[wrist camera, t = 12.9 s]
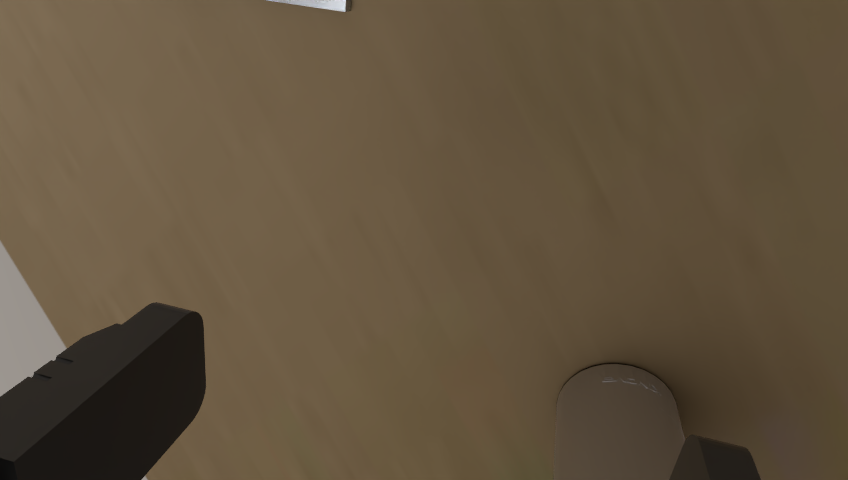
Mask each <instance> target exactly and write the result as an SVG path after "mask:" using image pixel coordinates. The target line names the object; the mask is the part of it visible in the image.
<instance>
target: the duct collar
mask: <svg viewBox="0 0 848 480" xmlns="http://www.w3.org/2000/svg"><path fill="white" fill-rule="evenodd" d="M268 1H275V2H282V3H288V4H295V5H302V6H309V7H316V8H323V9H330V10H336V11H343V12H347V11H350V10H351V0H268Z"/></svg>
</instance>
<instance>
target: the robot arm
mask: <svg viewBox="0 0 848 480" xmlns="http://www.w3.org/2000/svg"><path fill="white" fill-rule="evenodd" d="M205 388H206V376H205V352H204V328H203V320H202V317H201V315H200V314H199V313H197V312H194V311H190V310H186V309H182V308H178V307H174V306H170V305H166V304H162V303H157V302H156V303H152V304H149V305H148V306H146V307H145V308H144V309H142V310H141V311H140V312H138V313H137V314H136V315H134V316H133V317H132V318H130V319H129V320H128V321H126V322H125V323H124V324H122V325H120V324H114V325H112V326H110V327H107V328H105V329H102V330H100V331H97V332H95V333H92V334H90V335H87V336H85V337H83V338H81V339H80V340H79V341H77V342H76V343H74V344H73V345H72V346H70V347H69V348H67V349H66V350H65V351H63V352H62V353H61V354H59V355H58V356H57V357H56V360H55V361H52V360H51V361H50V362H48V363H47V364H45V365H44V366H42V367H41V368H40V369H38V370H37V371H36V372H34V375H33V377H32V378H31V377H27V378H26V379H24V380H23V381H22V382H21V383H19V384H17V385H16V386H15V387H13V388H12V389H11V390H9V391H8V392H6V393H5V394H4V395H2V396H1V397H0V480H141V479H142V478H143V477H144V476H145V475H146V474H147V473H148V471H149V470H150V469H151V468H152V467H153V466H154V464H155V463H156V462H157V461H158V460H159V459H160V458H161V456H162V455H163V454H164V453H165V452H166V451H167V450H168V448H169V447H170V446H171V445H172V444H173V443H174V441H175V440H176V439H177V438H178V437H179V436H180V435H181V433H182V432H183V431H184V430H185V429H186V428H187V427H188V425H189V424H190V423H191V422H192V421H193V419H194V418H195V416H196V415H197V413H198V411H199V409H200V407H201V404H202V402H203V398H204V394H205ZM553 480H761V479H760V476H759V474H758V471H757V468H756V466H755V463H754V461H753V458H752V456H751V454H750V452H749V451H748V449H746V448H745V447H741V446H737V445H733V444H729V443H725V442H721V441H717V440H713V439H709V438H704V437H700V436H696V435H690V436H689V437H688V438H687V439H686V441H685V438H684V434H683V430H682V426H681V421H680V417H679V413H678V409H677V405H676V401H675V399H674V397H673V395H672V393H671V391H670V390H669V389H668V387H667V386H666V385H665V384H664V383H663V382H662V381H661V380H659V379H658V378H657V377H656V376H654V375H652V374H650V373H649V372H647V371H645V370H642V369H639V368H636V367H633V366H629V365H621V364H604V365H599V366H594V367H590V368H588V369H586V370H583V371H581V372H579V373H578V374H576V375H575V376H573V377H572V378H571V379H570V380H569V381H568V382H567V383H566V384H565V385H564V386H563V388H562V390H561V391H560V393H559V396H558V400H557V408H556V433H555V452H554V478H553Z"/></svg>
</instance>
